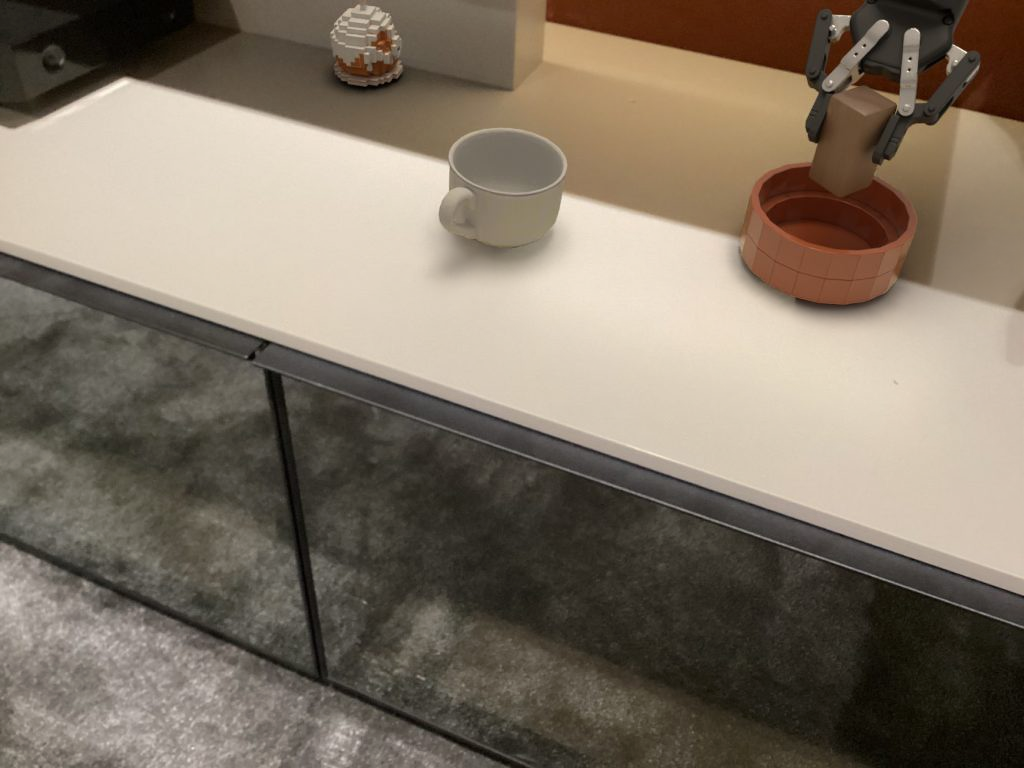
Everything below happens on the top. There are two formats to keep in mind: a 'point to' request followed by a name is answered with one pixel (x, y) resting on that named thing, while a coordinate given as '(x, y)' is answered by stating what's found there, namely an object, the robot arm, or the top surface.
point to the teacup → (503, 187)
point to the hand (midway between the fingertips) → (844, 149)
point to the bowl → (825, 236)
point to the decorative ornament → (366, 46)
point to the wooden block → (850, 140)
